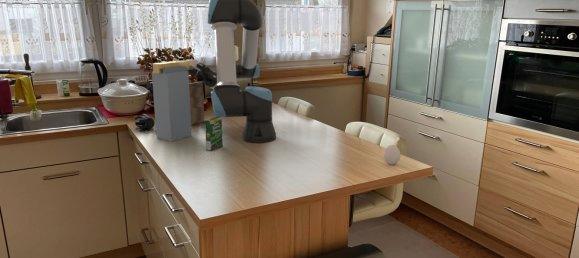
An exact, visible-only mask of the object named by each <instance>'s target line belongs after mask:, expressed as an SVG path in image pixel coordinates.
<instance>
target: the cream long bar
mask: <svg viewBox="0 0 579 258" xmlns="http://www.w3.org/2000/svg"><path fill="white" fill-rule="evenodd" d="M193 60H194V61H196V62H198V59H193ZM172 61H173V60H172ZM172 61H164V62H156V63H152V72H153V73H159V74H160V73H163V69H164V68H172V67H181V66H187V70H192V69H195V68H194V67H192V66H191V65H190V62H191V59H184V60H179V61H173V62H172Z"/></svg>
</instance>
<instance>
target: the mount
mask: <svg viewBox="0 0 579 258" xmlns="http://www.w3.org/2000/svg"><path fill="white" fill-rule="evenodd" d="M189 75H190V74H188V71H187V66H181V67H172V68H164V69H163V73H160V74H159V73H153V71H151V79H152V80H151V81H152V95H153V103H154V104H153V107H154V122H155V135H156V139H160V140H163V141H167V142H170V143H172V142H174V141H178V140H182V139H185V138H189V137H192V125H191V113H190V94H189V80H190V78H189Z"/></svg>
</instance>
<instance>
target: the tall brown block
mask: <svg viewBox="0 0 579 258" xmlns="http://www.w3.org/2000/svg"><path fill="white" fill-rule="evenodd" d="M189 94H190V113H191V126H192V125H197V124H199V123H205V105H204V104H205V103H204V83H203V81H195V82H192V80H191V79H189Z"/></svg>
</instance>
